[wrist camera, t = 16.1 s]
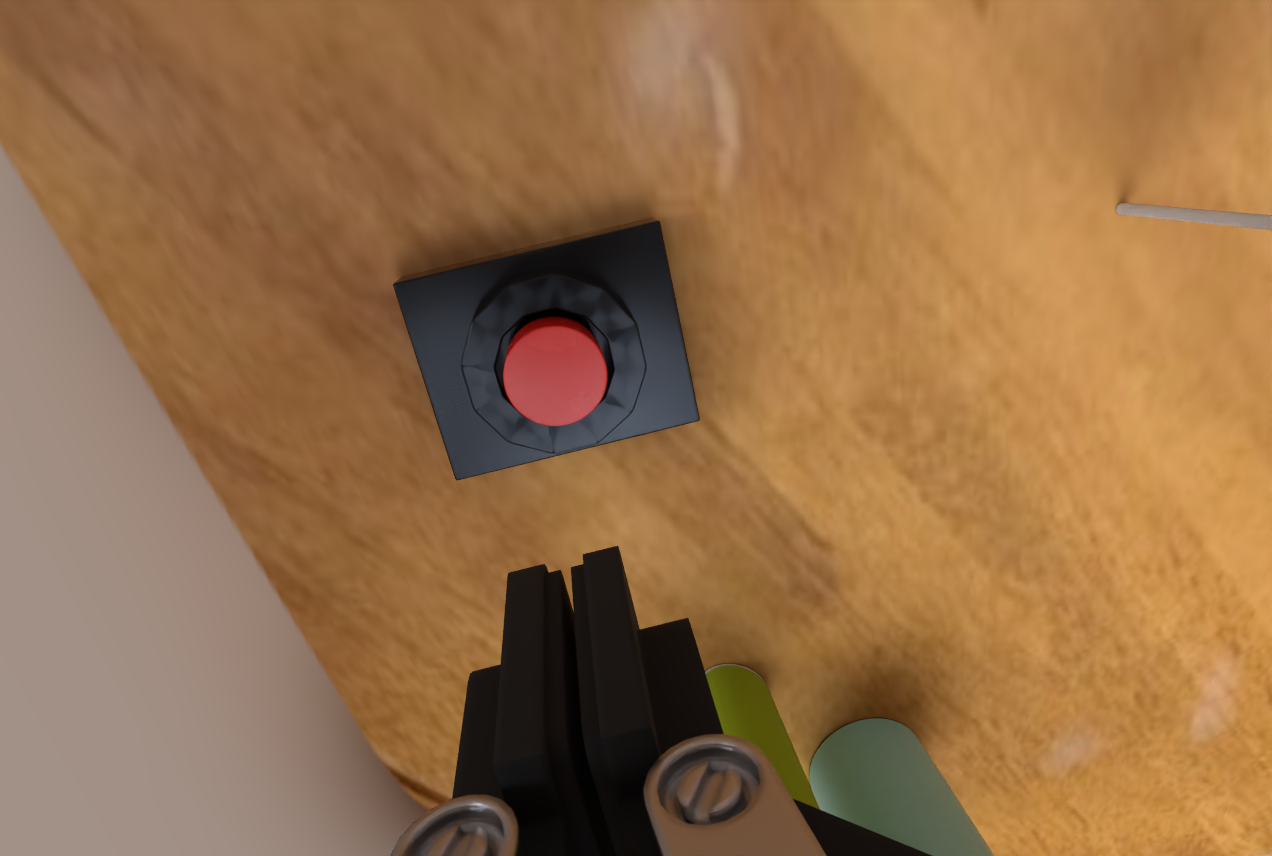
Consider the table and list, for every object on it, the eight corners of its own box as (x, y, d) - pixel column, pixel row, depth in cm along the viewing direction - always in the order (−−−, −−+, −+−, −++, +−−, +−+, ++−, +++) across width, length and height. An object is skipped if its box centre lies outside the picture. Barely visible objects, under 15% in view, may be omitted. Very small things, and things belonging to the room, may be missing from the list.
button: (519, 422, 30) (518, 437, 28) (493, 329, 29) (490, 339, 27) (613, 398, 30) (617, 412, 29) (591, 305, 29) (594, 314, 27)
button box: (459, 466, 34) (451, 499, 30) (399, 277, 31) (383, 291, 28) (692, 408, 34) (709, 435, 31) (653, 217, 31) (667, 224, 28)
